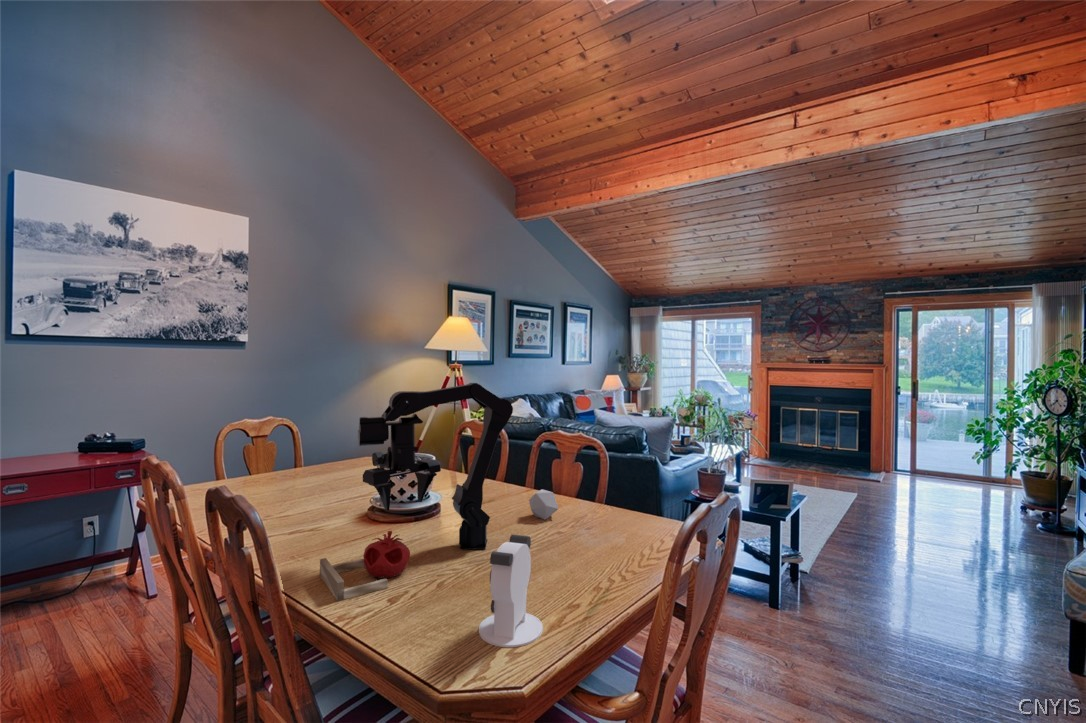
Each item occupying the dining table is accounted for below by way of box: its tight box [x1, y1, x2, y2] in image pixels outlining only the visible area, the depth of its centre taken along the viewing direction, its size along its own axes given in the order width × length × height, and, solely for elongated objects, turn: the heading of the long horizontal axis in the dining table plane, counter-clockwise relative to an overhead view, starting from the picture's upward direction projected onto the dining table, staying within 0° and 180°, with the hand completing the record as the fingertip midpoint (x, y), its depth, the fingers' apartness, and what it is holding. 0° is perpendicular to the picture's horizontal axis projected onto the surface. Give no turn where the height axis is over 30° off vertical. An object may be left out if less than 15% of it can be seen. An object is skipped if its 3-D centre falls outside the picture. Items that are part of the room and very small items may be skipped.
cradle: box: [319, 557, 389, 602], centre depth 106 cm, size 10×15×4 cm, turn 37°
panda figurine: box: [478, 534, 544, 648], centre depth 88 cm, size 12×11×15 cm
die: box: [528, 489, 559, 521], centre depth 153 cm, size 8×9×10 cm
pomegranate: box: [362, 530, 411, 579], centre depth 111 cm, size 10×10×9 cm
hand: (403, 505), depth 121 cm, fingers open, 9 cm apart
